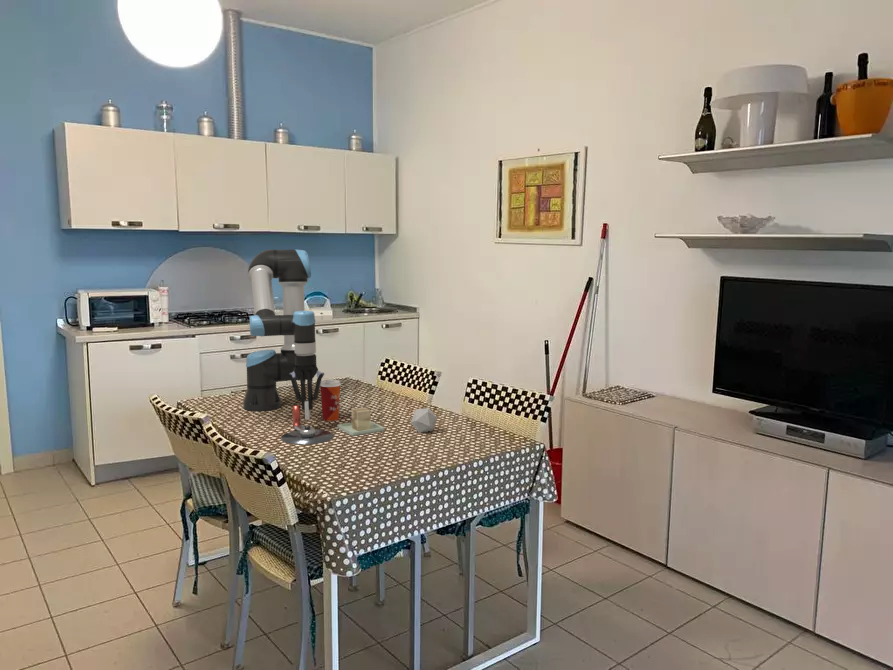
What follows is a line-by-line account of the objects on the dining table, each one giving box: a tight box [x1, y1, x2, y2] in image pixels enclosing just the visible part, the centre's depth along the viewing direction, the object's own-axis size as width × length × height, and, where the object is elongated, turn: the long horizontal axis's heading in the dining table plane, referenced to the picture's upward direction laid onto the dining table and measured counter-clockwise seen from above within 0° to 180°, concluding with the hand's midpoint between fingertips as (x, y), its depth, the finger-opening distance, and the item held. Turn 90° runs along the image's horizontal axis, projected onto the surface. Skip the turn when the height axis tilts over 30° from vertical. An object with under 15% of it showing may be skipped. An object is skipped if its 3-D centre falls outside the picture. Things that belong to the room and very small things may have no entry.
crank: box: [292, 404, 316, 437], centre depth 238 cm, size 14×5×9 cm, turn 34°
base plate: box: [280, 425, 335, 446], centre depth 235 cm, size 18×18×4 cm
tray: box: [337, 420, 385, 437], centre depth 245 cm, size 13×13×2 cm
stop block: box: [351, 407, 371, 431], centre depth 245 cm, size 5×5×7 cm
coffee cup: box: [319, 378, 342, 422], centre depth 259 cm, size 8×8×15 cm
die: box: [410, 407, 438, 434], centre depth 244 cm, size 8×9×10 cm
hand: (307, 418), depth 244 cm, fingers closed
